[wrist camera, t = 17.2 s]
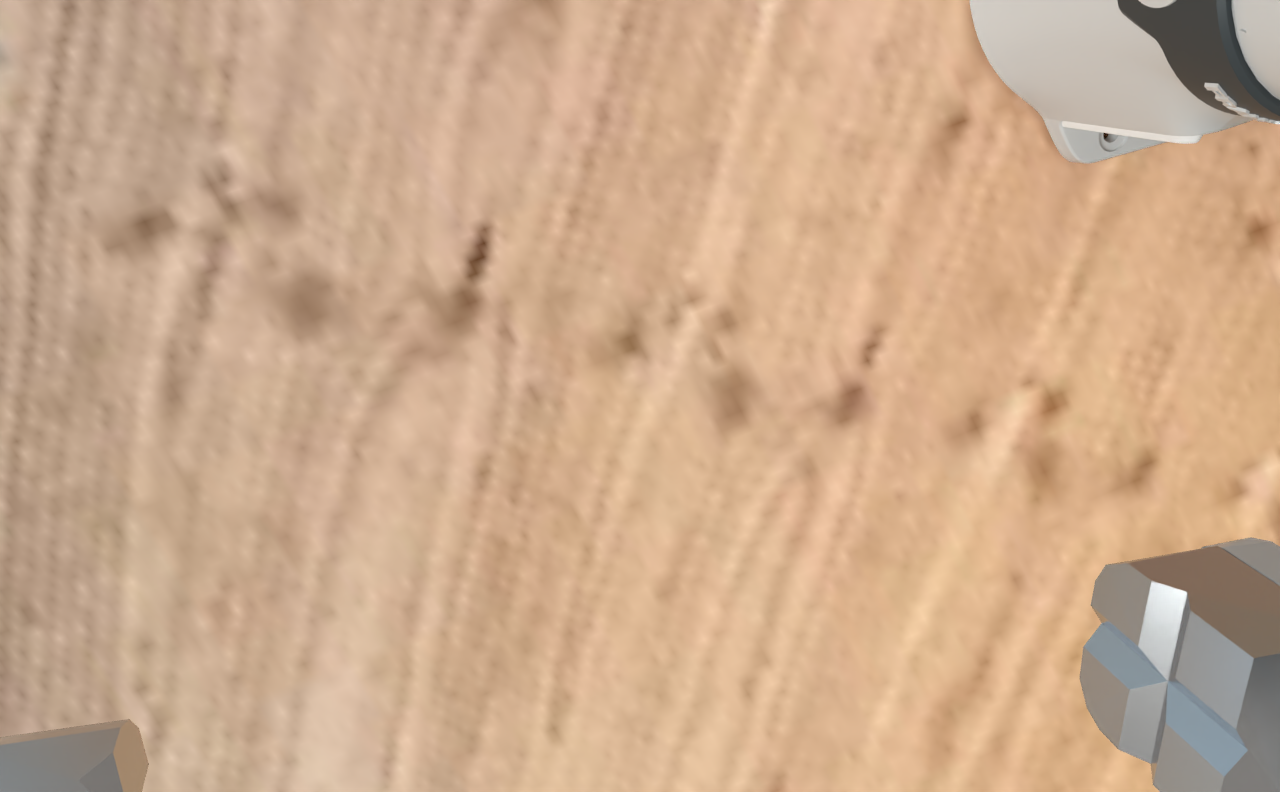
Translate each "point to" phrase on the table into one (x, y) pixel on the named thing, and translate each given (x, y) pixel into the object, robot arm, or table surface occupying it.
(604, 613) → the table surface
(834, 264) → the table surface
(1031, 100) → the robot arm
